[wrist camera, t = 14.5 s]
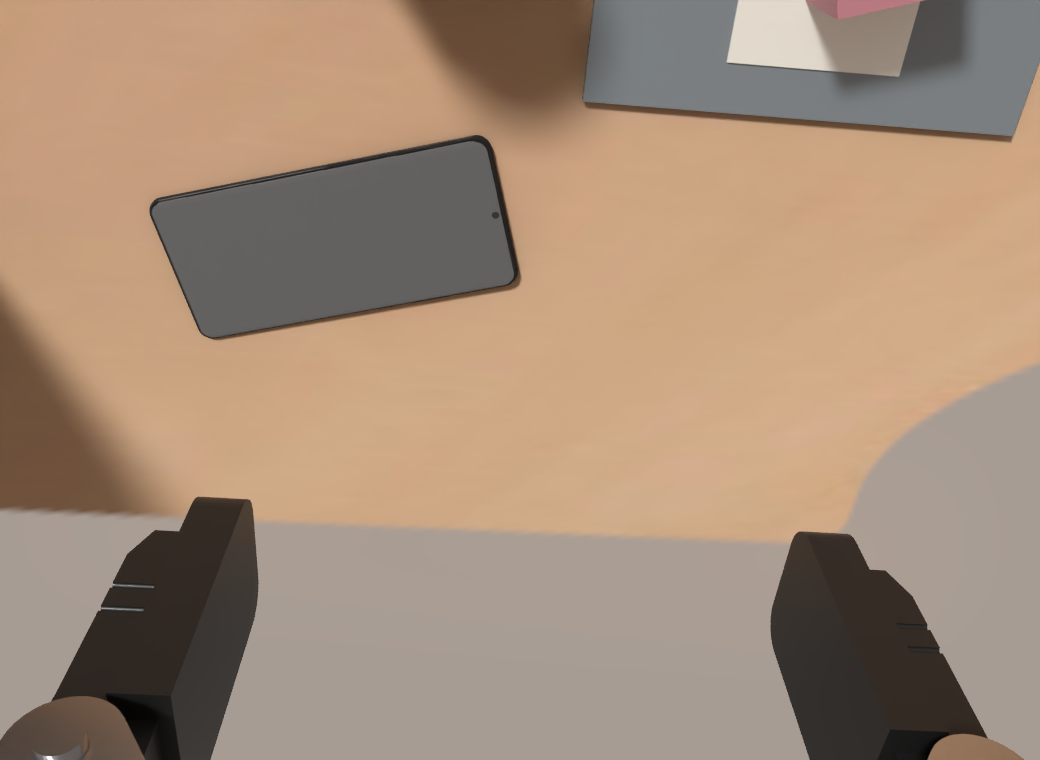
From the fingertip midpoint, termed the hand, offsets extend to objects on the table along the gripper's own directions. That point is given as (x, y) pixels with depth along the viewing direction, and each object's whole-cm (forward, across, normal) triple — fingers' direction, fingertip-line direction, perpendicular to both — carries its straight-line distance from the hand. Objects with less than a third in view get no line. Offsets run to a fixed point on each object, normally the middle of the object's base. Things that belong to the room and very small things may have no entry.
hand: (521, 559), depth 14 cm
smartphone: (+29, +7, +7) cm, 30 cm away
